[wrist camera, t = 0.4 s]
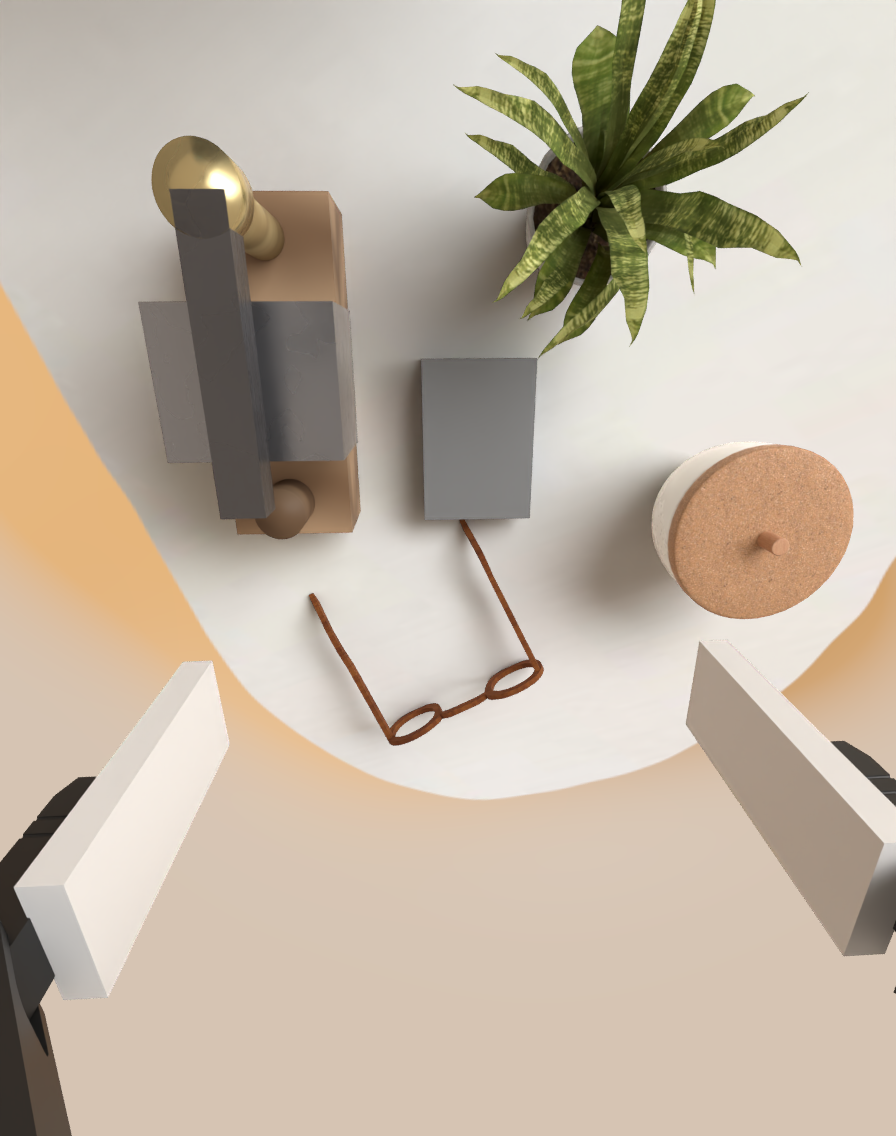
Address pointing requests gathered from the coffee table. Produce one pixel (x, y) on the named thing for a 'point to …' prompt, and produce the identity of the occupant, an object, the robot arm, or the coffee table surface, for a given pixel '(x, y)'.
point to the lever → (220, 314)
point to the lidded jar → (752, 527)
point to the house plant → (622, 172)
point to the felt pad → (478, 437)
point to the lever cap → (262, 379)
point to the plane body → (301, 273)
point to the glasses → (435, 707)
